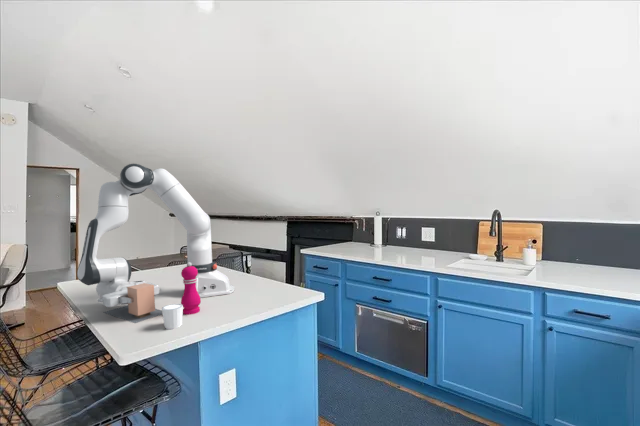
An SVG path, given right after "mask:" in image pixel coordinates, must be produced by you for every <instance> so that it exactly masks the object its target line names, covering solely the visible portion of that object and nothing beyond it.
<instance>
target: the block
mask: <svg viewBox="0 0 640 426" xmlns="http://www.w3.org/2000/svg"><path fill="white" fill-rule="evenodd" d="M148 315H150V312H149V313H146V314H143V315H139V316H137V315H134V316H135V317H138V318H142V317H145V316H148Z"/></svg>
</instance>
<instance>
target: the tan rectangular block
mask: <svg viewBox="0 0 640 426" xmlns="http://www.w3.org/2000/svg"><path fill="white" fill-rule="evenodd" d="M146 283H147V282H146ZM146 283H143V284H138V285H134V286H130V287H127V290H128V298H130V297H133V298H134V302H132V303H128V304H127V305H128V309H129V313H131V314H134V315H137V316H139V315H143V314H146V313H149V312H152V311H155V309H156V304H155V295H154V285H151V284H146Z"/></svg>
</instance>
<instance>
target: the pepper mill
mask: <svg viewBox="0 0 640 426" xmlns="http://www.w3.org/2000/svg"><path fill="white" fill-rule="evenodd" d="M191 265H192V264H191V263H190V262H188V261H187V263H186V266H185V267H183V268H182V269H181V273H180V274H181V277H182V278H183V279H182V283H183V284H184V291H183V294H182V296H181V299H180V304H182V305H183V315H186V316H189V315H195V314H198V313H200V310H201V307H200V304H201V302H202V300H201V298H200V296H199V294H198V292H197V289H196V282H197V280H196V279H197V278H196V276H197V275H198V271H197V269H196V268H195V267H193V266H191Z"/></svg>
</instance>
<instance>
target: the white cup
mask: <svg viewBox="0 0 640 426" xmlns="http://www.w3.org/2000/svg"><path fill="white" fill-rule="evenodd" d="M183 309H184V307H183V305H182V304H181V303H172V304H168V305H164V306H163V307H162V308H161V310H162V319H163V326H164V328H166V329H165V330H174V328H175V329H178V327H179V328H180V326H181V325H182V326H183V315H184V314H183ZM182 326H181V327H182Z"/></svg>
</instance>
